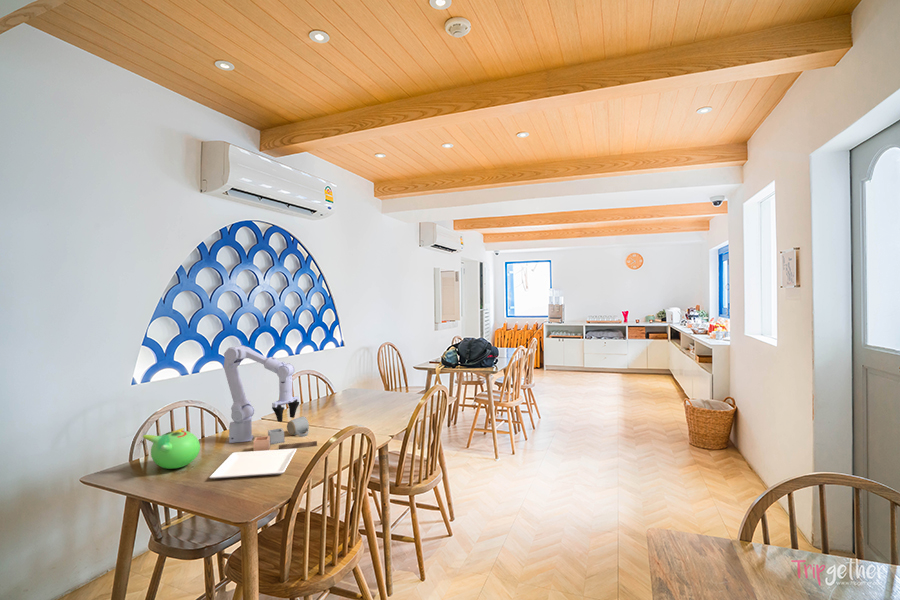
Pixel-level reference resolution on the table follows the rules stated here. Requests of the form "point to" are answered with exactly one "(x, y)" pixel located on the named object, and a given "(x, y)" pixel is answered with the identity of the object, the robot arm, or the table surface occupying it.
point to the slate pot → (276, 436)
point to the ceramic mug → (298, 426)
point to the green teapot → (174, 448)
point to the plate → (254, 463)
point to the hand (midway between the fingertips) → (286, 419)
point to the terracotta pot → (262, 443)
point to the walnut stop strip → (298, 445)
